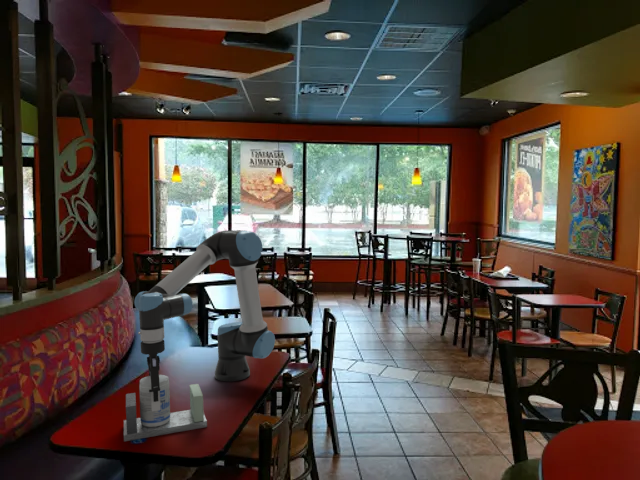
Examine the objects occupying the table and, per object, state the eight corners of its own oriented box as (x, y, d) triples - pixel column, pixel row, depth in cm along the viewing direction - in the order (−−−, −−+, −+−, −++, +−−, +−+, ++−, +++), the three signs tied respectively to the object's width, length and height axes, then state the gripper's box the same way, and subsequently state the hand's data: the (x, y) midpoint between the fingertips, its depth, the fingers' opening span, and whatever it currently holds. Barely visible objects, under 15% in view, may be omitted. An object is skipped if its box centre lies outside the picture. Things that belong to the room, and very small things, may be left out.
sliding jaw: (198, 407, 176) (198, 383, 176) (203, 420, 165) (202, 395, 164) (190, 408, 175) (189, 384, 175) (194, 422, 164) (193, 396, 163)
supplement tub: (159, 429, 160) (157, 385, 159) (134, 426, 162) (132, 382, 161) (176, 417, 169) (174, 375, 168) (152, 414, 172) (151, 373, 171)
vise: (202, 413, 177) (200, 383, 176) (207, 426, 166) (206, 394, 165) (124, 426, 167) (122, 394, 167) (123, 441, 156) (122, 407, 155)
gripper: (139, 332, 174) (142, 391, 175) (141, 351, 150) (144, 419, 152) (161, 330, 176) (164, 388, 178) (167, 348, 153) (169, 415, 155)
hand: (155, 402), depth 165 cm, fingers open, 13 cm apart
